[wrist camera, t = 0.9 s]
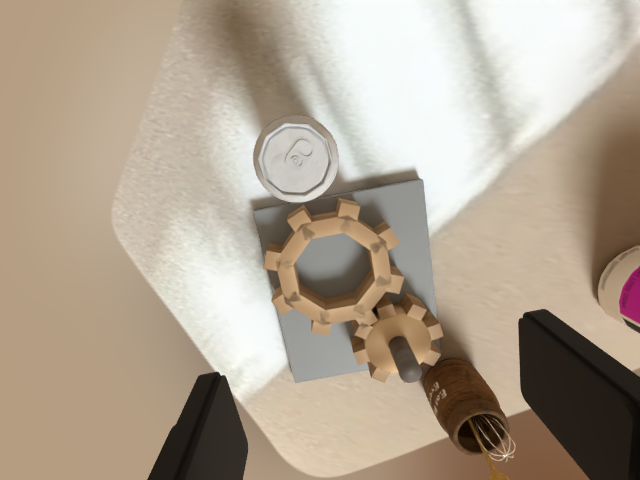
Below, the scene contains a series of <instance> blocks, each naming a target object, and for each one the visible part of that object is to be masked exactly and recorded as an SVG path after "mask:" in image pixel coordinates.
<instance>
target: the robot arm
mask: <svg viewBox="0 0 640 480" xmlns="http://www.w3.org/2000/svg"><path fill="white" fill-rule="evenodd" d="M518 326H519V355H520V384H521V392H522V395H523V397H524V399H525V401H526V402H527V403H528V405H529V406H530V407H531V408H532V410H533V411H534V412H535V413H536V414H537V416H538V417H539V418H540V419H541V420H542V422H543V423H544V424H545V425H546V426H547V428H548V429H549V430H550V431H551V433H552V434H553V435H554V436H555V437H556V439H557V440H558V441H559V442H560V444H561V445H562V446H563V447H564V449H565V450H566V451H567V452H568V453H569V455H570V456H571V457H572V458H573V459H574V461H576V463H577V464H578V466H579V467H580V468H581V469H582V470H583V472H584V473H585V474H586V475H587V476H588V478H589V479H590V480H640V377H639V376H637V375H636V374H635V373H633V372H632V371H630V370H629V369H628V368H626V367H625V366H624V365H622V364H621V363H619V362H618V361H617V360H615V359H614V358H613V357H611V356H610V355H608V354H607V353H606V352H604V351H603V350H602V349H600V348H599V347H597V346H596V345H595V344H593V343H592V342H590V341H589V340H588V339H586V338H585V337H584V336H582V335H581V334H579V333H578V332H577V331H575V330H574V329H573V328H571V327H570V326H568V325H567V324H566V323H564V322H563V321H562V320H560V319H559V318H557V317H556V316H555V315H553V314H552V313H550V312H549V311H548V310H546V309H541V310H536V311H530V312H526V313H524V314H523V318H520V319H519V322H518ZM247 454H248V442H247V438H246V435H245V432H244V430H243V426H242V423H241V420H240V417H239V414H238V411H237V409H236V405H235V402H234V399H233V396H232V393H231V390H230V387H229V384H228V381H227V378H226V377H225V376H224V375H223V376H221V375H220V374H219V372H213V373H208V374H203V375H200V376H198V378H197V380H196V383H195V385H194V387H193V389H192V391H191V393H190V395H189V398H188V400H187V402H186V404H185V406H184V408H183V411H182V413H181V415H180V417H179V419H178V421H177V424H176V425H175V426H173V428H172V429H171V431H170V433H169V435H168V437H167V439H166V441H165V443H164V445H163V447H162V450H161V452H160V454H159V456H158V458H157V460H156V462H155V464H154V467H153V469H152V471H151V473H150V475H149V477H148V479H147V480H243V475H244V470H245V464H246V460H247Z"/></svg>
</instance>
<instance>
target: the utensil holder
mask: <svg viewBox="0 0 640 480" xmlns="http://www.w3.org/2000/svg"><path fill="white" fill-rule="evenodd" d="M424 387H425V393H426V396H427V398H428V401H429V403H430V405H431V407H432V409H433V412H434V414H435V416H436V418H437V420H438V422H439V423H440V425H441V427H442V428H443V429H444V430H445V431H446V432H447V433H448V435H449V437H450V439H451V441H452V442H453V443H454V445H455V446H456V447H457V448H458V449H459V450H460V451H461V452H463V453H465V454H468V455H471V456H482V455H484V456H485V458H486V460H487V462H488V464H489V466H490V468H491V470H492V475H491V476H490V477H489V480H509V479H508V477H507V476H506V475H505V474H502V473H499V472H497V471H496V470H495V468H494V465H493V463H492V462H491V459H490V457H489V455H488V454H490V453H492V452H494V451H496V450H499V448H500V447H501V446H502V445H503V444H505V441H506V440H507V438H508V437H510V436H509V423H508V421H507V419H506V416H505V414H504V413H503V411H502V410H501V409H500V405H499V402H498V400H497V398H496V396H495V394H494V393H493V391H492V390H491V389H490V387H489V386H488V384H487V383H486V382H485V380H484V379H483V378H482V376H481V375H480V374H479V373H478V371H477V370H476V369H475V368H474V367H473V366H472V365H470V364H469V363H467V362H465V361H463V360H459V359H449V360H444V361H442V362H440V363H438V364H436V365H435V366H433V367H432V368H431V369H430V371H429V372H428V374H427V376H426V378H425V383H424ZM510 439H511V438H510ZM510 439H509V440H510ZM511 440H512V439H511ZM509 442H510V441H509ZM514 445H515V444H514ZM503 447H504V445H503ZM507 448H508V447H507ZM508 449H509V450H510V445H509V448H508ZM504 450H505V448H504ZM509 450H508V452H509ZM514 450H515V448H514ZM499 451H500V450H499ZM508 452H507V454H505V457H507V456H508V455H510V454H512V453H513V452H514V451H513V452H511V453H510V454H508ZM497 453H498V452H497ZM502 453H503V452H502ZM505 453H506V451H505ZM493 455H494V454H493ZM512 455H513V454H512ZM496 456H501V455H496ZM502 456H504V455H502ZM505 457H504V458H505ZM508 457H509V456H508ZM491 458H492V457H491ZM504 458H503V459H504ZM511 458H513V457H511ZM503 459H501V460H503ZM496 461H500V460H496ZM505 462H507V461H505Z"/></svg>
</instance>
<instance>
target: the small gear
mask: <svg viewBox="0 0 640 480" xmlns="http://www.w3.org/2000/svg"><path fill="white" fill-rule="evenodd" d="M375 306H376V308H375V309H374V311H375V314H376V317H377V319H378V321H376V322H375V323H373V324H371V325H369V326H367V324H366V327H364V326H365V325H364V326H363V325H361V324H360V325H359V323H358V322H357V321H356V320H352V321H351V322H352V326H353V331H354V335H356V336H355V337H352V338H350V340H351V345H352V349H353V354H354V356H355V359H356V361H357V364H358V365H361V364H364V363H367V364H368V367H369V371H370V375H371V378H373V379H376V380H379V381H381V382H384V383H385V381H386V379H387V378H388V376H389V374H390V373H399V375H400V377H401V379H402V380H403V382H404V383H405V382H408V383H412V382H415V381H417V380H419V379H420V377H421V375H422V369H421V367H420V364H421V363H422V362H424V363H426V364H429V365H432V366H434V365H435V363H436V362H437V360H438V358H439V357H440V355H441V353H440V352H439V350H438V349H437V347H436V345H435V344H434V342H433V341H432V340H435V339H438V338H441V337H443V333H442V329H441V326H440V323H439V322H438V321H437V319H436V318H435V316H434V315H433V314H432V312H431V311H427V309H426V308H425V306H424V305H423V304H422V302H421V301H420V299H419V298H418V297H415V296H413V295H411V294H408V293H406V292H405V294H404V296H403V298H402V300H401V301H400V303H396V302H391V300H390V298H389V296H388V294H387V293H386V292H385V293H384V295H383V296H382V297H381V299H380V300H379V301H378V302H377V304H376V305H375ZM426 311H427V312H426ZM364 324H365V323H364ZM361 326H362V327H364V328H363V329H362V328H361Z"/></svg>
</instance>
